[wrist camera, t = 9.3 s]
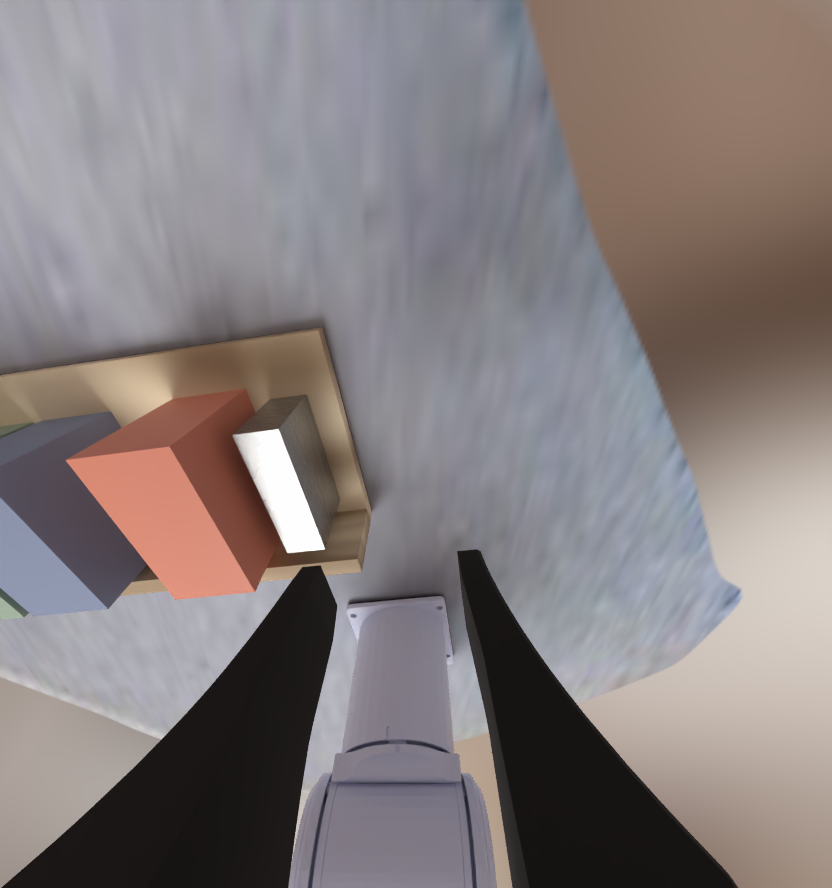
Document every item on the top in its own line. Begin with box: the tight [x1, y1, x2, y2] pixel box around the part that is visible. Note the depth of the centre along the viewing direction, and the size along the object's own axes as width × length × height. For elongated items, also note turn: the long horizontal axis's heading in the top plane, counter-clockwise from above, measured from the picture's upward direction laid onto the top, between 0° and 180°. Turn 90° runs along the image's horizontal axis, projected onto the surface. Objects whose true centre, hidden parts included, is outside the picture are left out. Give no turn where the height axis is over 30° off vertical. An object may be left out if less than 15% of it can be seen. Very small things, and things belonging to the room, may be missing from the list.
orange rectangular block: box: [66, 389, 281, 600], centre depth 16 cm, size 8×4×6 cm, turn 8°
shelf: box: [0, 327, 372, 596], centre depth 17 cm, size 12×22×7 cm, turn 98°
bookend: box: [232, 394, 340, 553], centre depth 17 cm, size 7×2×4 cm, turn 8°
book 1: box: [0, 411, 147, 616], centre depth 17 cm, size 8×4×6 cm, turn 8°
